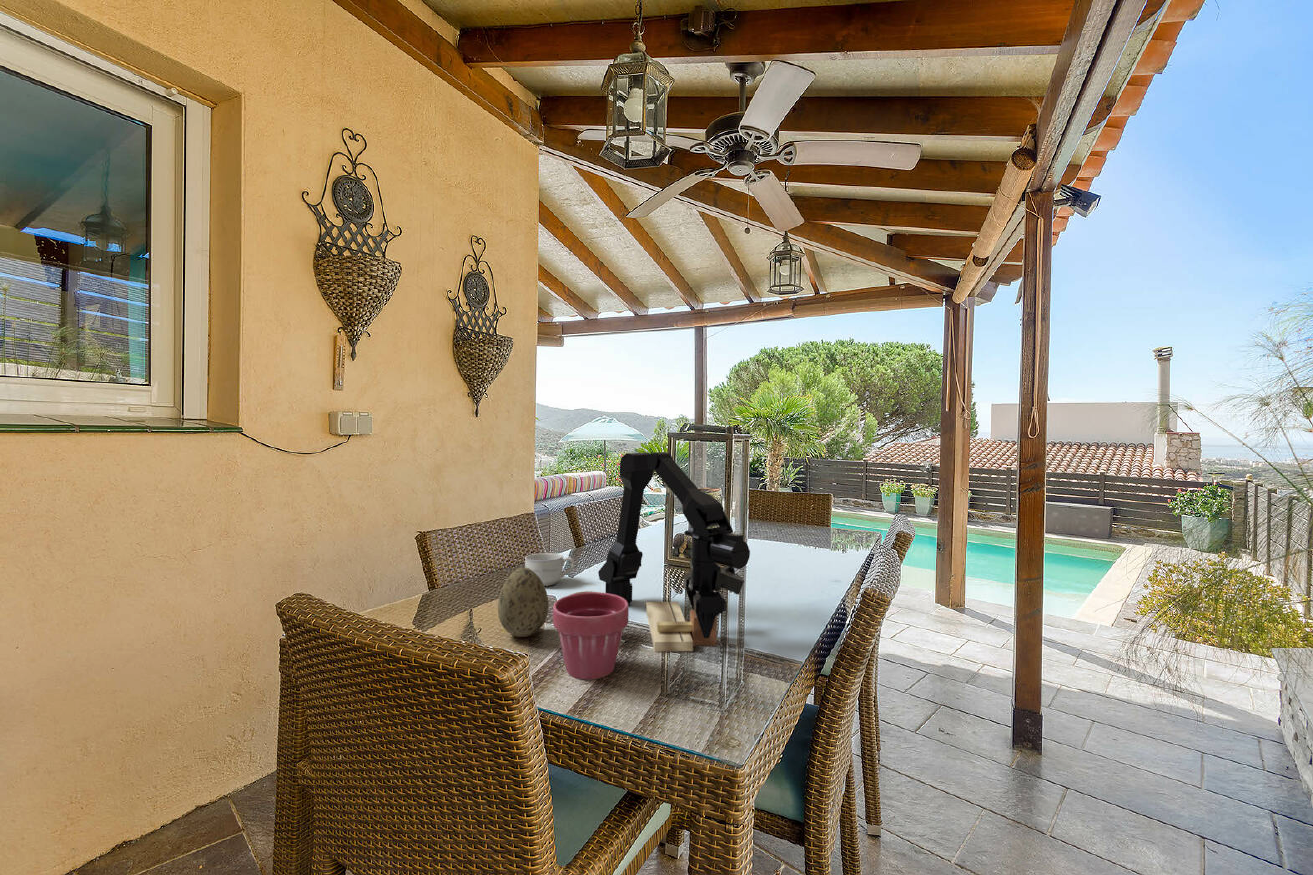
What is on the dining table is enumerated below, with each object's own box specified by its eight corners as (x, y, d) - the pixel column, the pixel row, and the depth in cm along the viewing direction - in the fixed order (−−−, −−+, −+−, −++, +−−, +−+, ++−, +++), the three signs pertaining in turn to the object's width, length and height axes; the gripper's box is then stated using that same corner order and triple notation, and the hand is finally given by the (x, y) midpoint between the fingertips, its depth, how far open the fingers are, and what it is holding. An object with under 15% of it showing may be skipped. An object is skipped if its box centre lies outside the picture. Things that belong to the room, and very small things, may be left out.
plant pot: (562, 692, 100) (563, 620, 100) (544, 660, 113) (545, 596, 113) (638, 679, 106) (639, 610, 105) (613, 649, 119) (614, 588, 118)
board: (654, 651, 118) (654, 641, 118) (645, 609, 143) (646, 601, 143) (692, 651, 119) (693, 641, 119) (677, 609, 144) (677, 601, 144)
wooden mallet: (657, 646, 121) (658, 618, 121) (655, 636, 126) (656, 610, 126) (716, 645, 122) (716, 617, 122) (711, 636, 127) (712, 609, 127)
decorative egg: (487, 640, 122) (487, 570, 121) (517, 623, 132) (517, 559, 131) (529, 649, 118) (530, 577, 117) (557, 631, 128) (558, 564, 127)
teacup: (518, 587, 159) (518, 559, 159) (533, 576, 170) (533, 550, 169) (566, 591, 157) (567, 562, 156) (578, 580, 167) (579, 552, 167)
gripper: (752, 570, 115) (749, 646, 116) (731, 548, 134) (730, 614, 135) (697, 570, 114) (695, 647, 115) (684, 548, 133) (682, 614, 134)
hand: (702, 629), depth 125 cm, fingers open, 9 cm apart
